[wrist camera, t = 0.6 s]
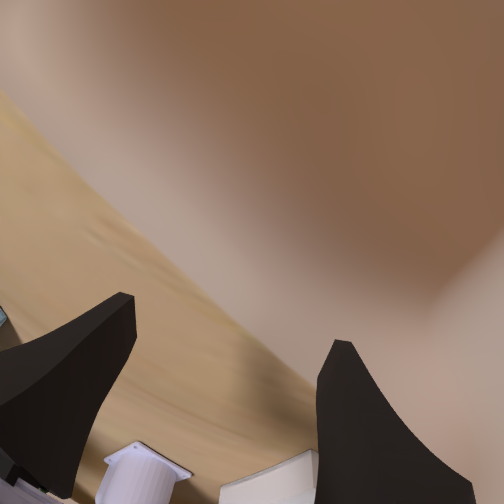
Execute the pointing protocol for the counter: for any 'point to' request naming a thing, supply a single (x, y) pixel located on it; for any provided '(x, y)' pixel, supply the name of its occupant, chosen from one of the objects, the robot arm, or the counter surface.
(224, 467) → the counter surface
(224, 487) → the box
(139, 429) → the counter surface
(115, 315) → the robot arm
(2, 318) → the gum box
